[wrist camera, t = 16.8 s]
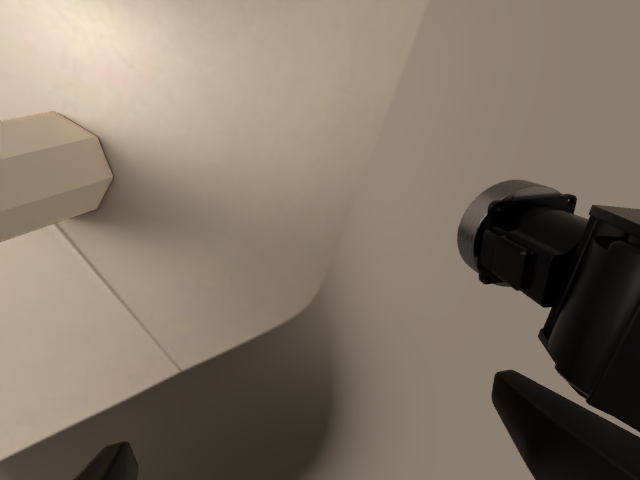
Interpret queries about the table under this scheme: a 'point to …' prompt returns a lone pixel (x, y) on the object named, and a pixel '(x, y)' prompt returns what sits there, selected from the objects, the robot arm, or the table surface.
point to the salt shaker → (47, 172)
